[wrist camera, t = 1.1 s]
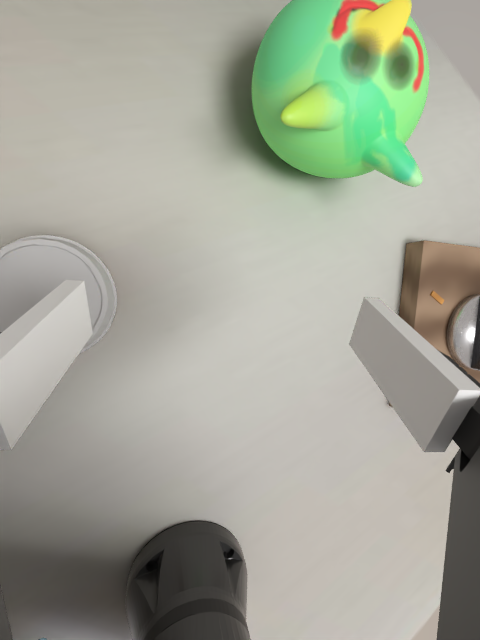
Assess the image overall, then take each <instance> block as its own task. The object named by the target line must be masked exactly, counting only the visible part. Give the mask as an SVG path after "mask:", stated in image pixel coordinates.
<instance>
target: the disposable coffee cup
mask: <svg viewBox="0 0 480 640" xmlns="http://www.w3.org/2000/svg"><path fill="white" fill-rule="evenodd" d="M65 280H80V281H84V283H85V289H86V295H87V301H88V307H89V313H90V319H91V325H92V331H93V334H92V335H91V337H90V338H89V340H88V341H87V343H86V344H85V346H84V347H83V348H82V350H81V351H80V353H81V352H84V351H86V350H88V349H89V348H90V347H92V346H93V345H95V344H96V343H97V342H98V341H99V340H100V339H101V338H102V337H103V336H104V335H105V334H106V332H107V331H108V329H109V328H110V326H111V324H112V322H113V319H114V316H115V313H116V307H117V294H116V287H115V284H114V281H113V278H112V276H111V274H110V272H109V270H108V269H107V267H106V266H105V264H104V263H103V262H102V261H101V259H99V258H98V257H97V256H96V255H95V254H94V253H93V252H92V251H91V250H89V249H87V248H86V247H84V246H82V245H81V244H79V243H77V242H75V241H72V240H69V239H66V238H63V237H58V236H52V235H34V236H30V237H25V238H20V239H18V240H16V241H14V242H11V243H9V244H7V245H5V246H4V247H3V248H1V249H0V332H3V331H4V330H6V329H7V328H8V327H9V326H10V325H12V324H13V323H14V322H15V321H16V320H18V319H19V318H20V317H21V316H23V315H24V314H25V313H26V312H27V311H29V310H30V309H31V308H32V307H33V306H35V305H36V304H37V303H38V302H40V301H41V300H42V299H43V298H44V297H46V296H47V295H48V294H49V293H50V292H52V291H53V290H54V289H55V288H57V287H58V286H59V285H60V284H61V283H63V282H64V281H65Z"/></svg>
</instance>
